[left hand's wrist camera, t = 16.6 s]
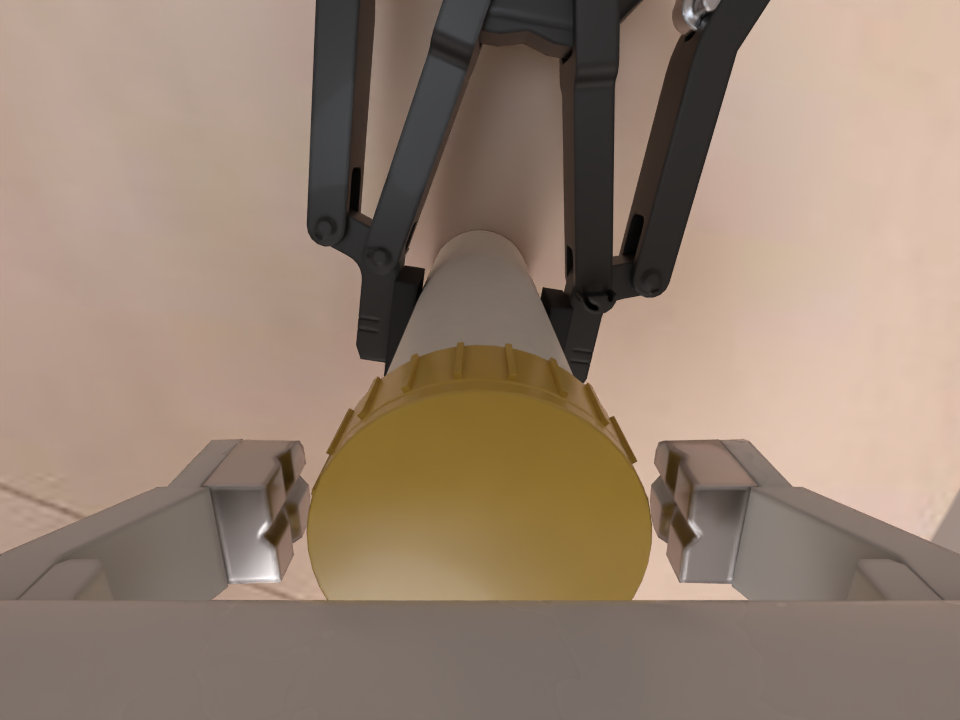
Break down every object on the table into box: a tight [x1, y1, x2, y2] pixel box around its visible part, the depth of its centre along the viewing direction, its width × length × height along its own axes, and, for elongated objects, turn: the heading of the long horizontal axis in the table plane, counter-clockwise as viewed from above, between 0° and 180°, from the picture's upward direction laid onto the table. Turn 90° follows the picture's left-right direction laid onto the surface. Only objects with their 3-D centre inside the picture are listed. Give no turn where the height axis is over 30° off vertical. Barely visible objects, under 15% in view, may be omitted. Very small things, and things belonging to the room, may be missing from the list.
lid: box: [307, 342, 652, 600], centre depth 9 cm, size 5×5×2 cm
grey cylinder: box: [386, 230, 573, 375], centre depth 17 cm, size 4×4×18 cm
